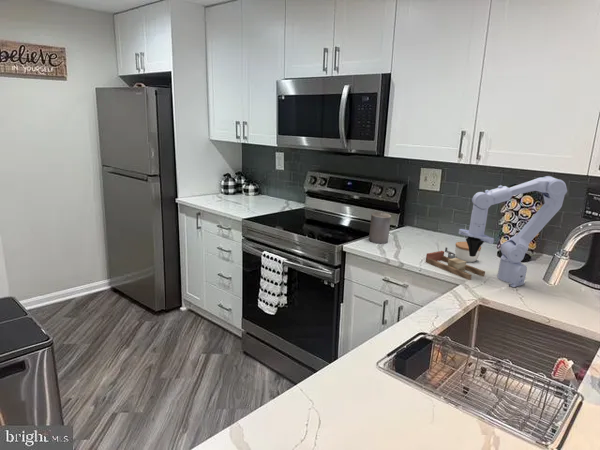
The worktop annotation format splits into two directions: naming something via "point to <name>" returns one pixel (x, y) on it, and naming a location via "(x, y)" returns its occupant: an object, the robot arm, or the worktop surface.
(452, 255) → the winch
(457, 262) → the tan wooden block
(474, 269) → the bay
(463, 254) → the lidded jar
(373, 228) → the pillar candle
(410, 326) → the worktop surface
